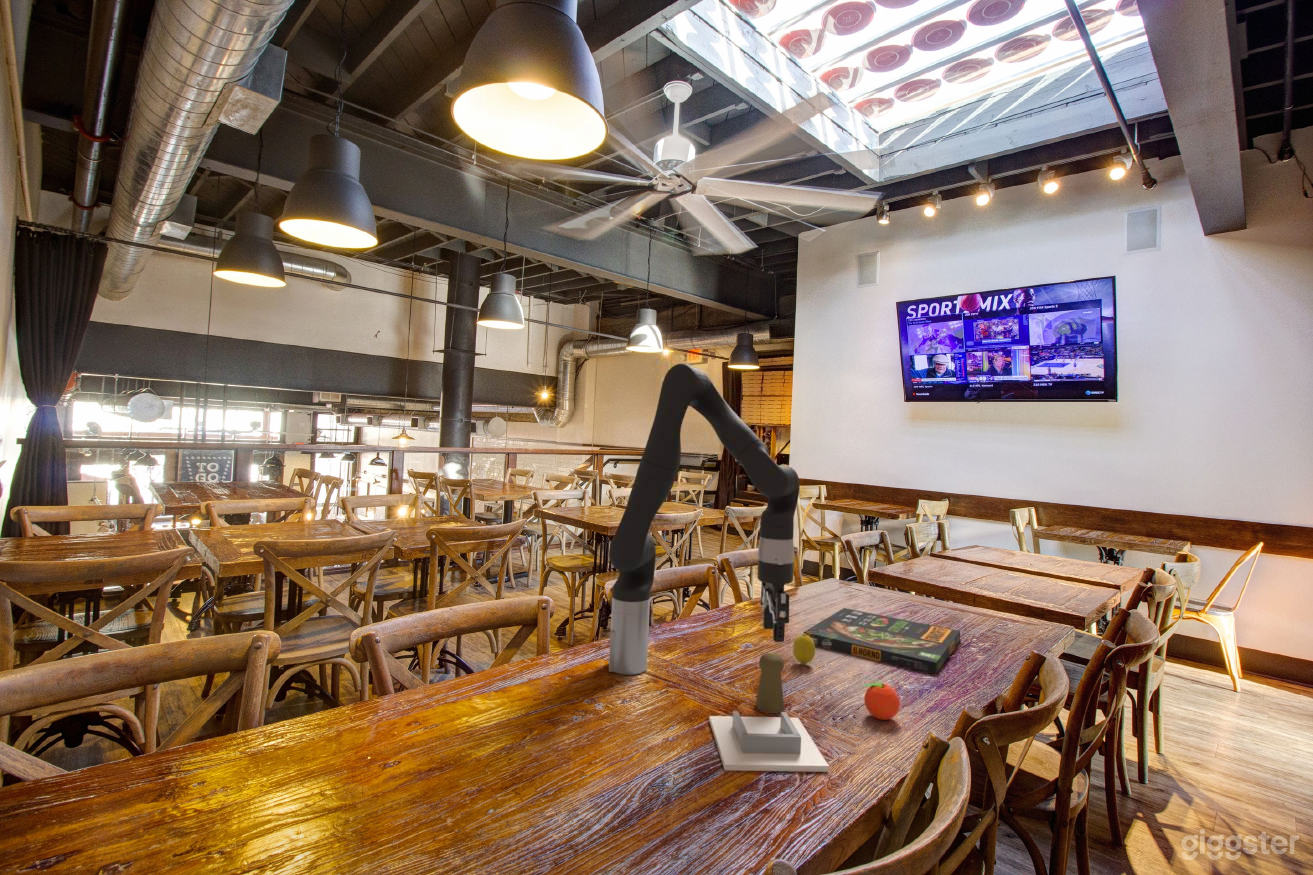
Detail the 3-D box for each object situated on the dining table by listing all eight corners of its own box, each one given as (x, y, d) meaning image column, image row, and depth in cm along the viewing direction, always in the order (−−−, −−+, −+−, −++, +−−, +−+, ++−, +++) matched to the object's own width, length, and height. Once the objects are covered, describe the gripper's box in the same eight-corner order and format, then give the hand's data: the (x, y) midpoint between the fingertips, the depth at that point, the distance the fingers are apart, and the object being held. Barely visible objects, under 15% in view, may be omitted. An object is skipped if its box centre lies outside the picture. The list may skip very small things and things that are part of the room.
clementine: (857, 720, 123) (858, 685, 123) (859, 707, 130) (860, 674, 130) (899, 728, 120) (900, 693, 120) (899, 714, 127) (900, 680, 127)
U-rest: (724, 770, 102) (725, 746, 102) (709, 720, 120) (710, 700, 120) (828, 771, 103) (829, 748, 103) (797, 722, 121) (798, 702, 121)
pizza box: (843, 618, 200) (844, 607, 200) (959, 642, 179) (960, 630, 179) (803, 644, 171) (803, 631, 171) (935, 676, 151) (936, 662, 151)
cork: (787, 704, 129) (789, 653, 129) (780, 715, 124) (782, 662, 124) (759, 698, 132) (761, 648, 132) (751, 709, 126) (754, 656, 126)
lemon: (810, 670, 150) (811, 638, 150) (789, 665, 152) (790, 633, 153) (817, 664, 154) (818, 633, 154) (796, 659, 157) (797, 628, 157)
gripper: (751, 552, 135) (748, 624, 135) (766, 564, 121) (763, 645, 120) (784, 553, 135) (781, 625, 135) (803, 565, 121) (800, 646, 121)
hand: (773, 634), depth 128 cm, fingers open, 8 cm apart
